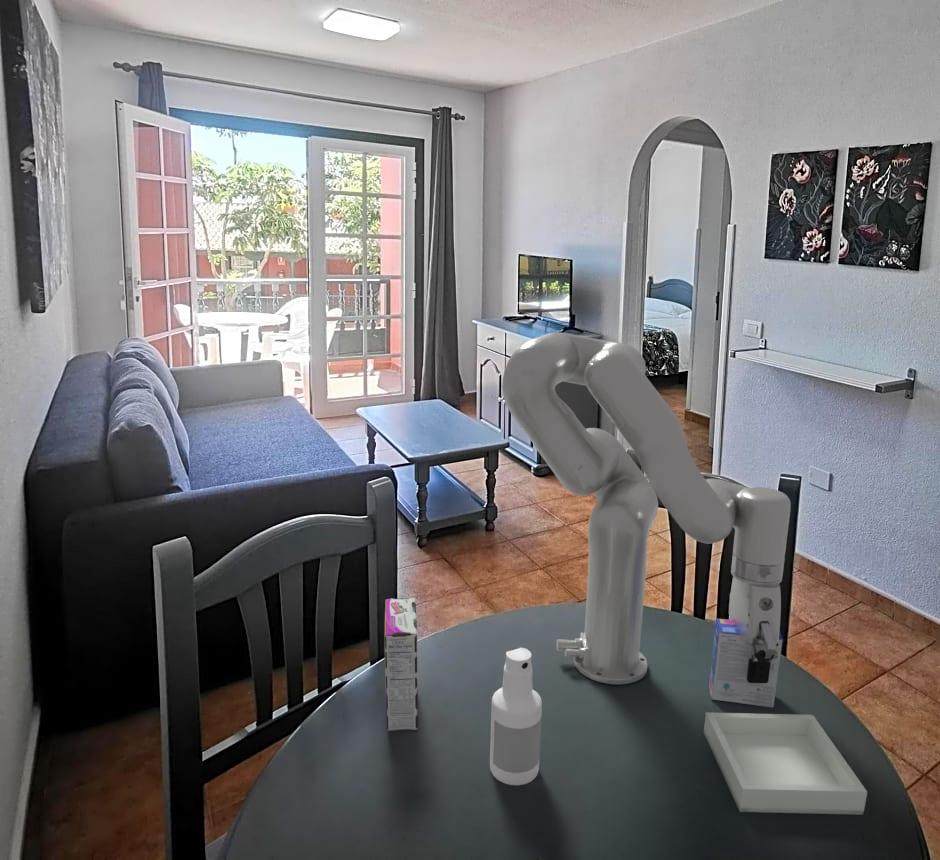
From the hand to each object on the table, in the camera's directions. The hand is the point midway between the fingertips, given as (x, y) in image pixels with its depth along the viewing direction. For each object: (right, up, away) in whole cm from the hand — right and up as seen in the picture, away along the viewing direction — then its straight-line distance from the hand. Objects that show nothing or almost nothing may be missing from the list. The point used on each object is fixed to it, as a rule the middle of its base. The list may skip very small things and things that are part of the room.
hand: (746, 664), depth 120 cm
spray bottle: (-39, -9, -17) cm, 43 cm away
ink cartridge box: (0, -6, +2) cm, 6 cm away
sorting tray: (-2, -10, -16) cm, 19 cm away
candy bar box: (-55, -6, -4) cm, 56 cm away
